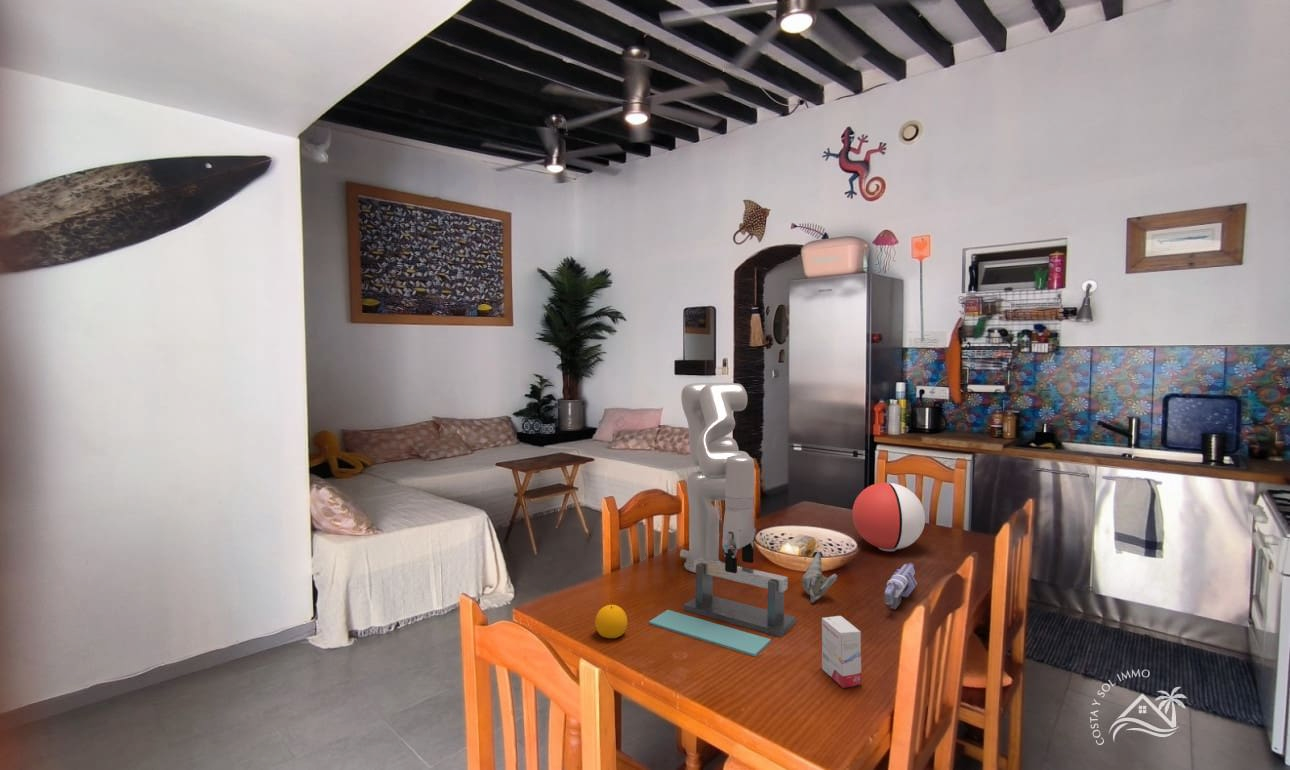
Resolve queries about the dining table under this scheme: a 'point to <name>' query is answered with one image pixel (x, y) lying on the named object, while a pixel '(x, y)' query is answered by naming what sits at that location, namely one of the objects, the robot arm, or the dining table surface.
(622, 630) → the yellow orange fruit
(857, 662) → the ink box
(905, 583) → the toy gun
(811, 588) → the seashell
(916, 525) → the ball
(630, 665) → the dining table surface
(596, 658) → the dining table surface
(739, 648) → the mat
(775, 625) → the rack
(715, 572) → the rail
